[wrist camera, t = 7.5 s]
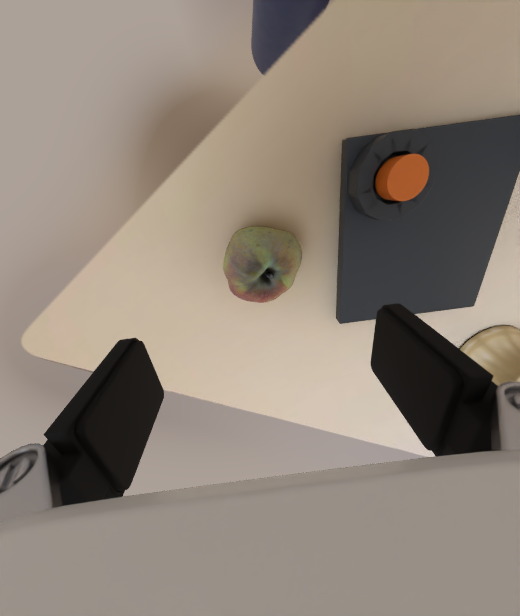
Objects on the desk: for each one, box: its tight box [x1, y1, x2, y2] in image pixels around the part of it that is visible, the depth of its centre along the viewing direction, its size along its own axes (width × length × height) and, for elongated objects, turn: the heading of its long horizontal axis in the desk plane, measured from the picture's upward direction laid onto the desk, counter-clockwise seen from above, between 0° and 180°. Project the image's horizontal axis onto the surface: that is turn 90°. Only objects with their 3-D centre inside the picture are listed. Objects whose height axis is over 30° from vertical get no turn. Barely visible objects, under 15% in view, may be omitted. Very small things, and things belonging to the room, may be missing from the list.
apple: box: [223, 227, 302, 303], centre depth 20 cm, size 6×8×6 cm
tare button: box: [375, 154, 429, 201], centre depth 17 cm, size 3×3×2 cm
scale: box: [336, 115, 520, 324], centre depth 21 cm, size 16×14×3 cm
